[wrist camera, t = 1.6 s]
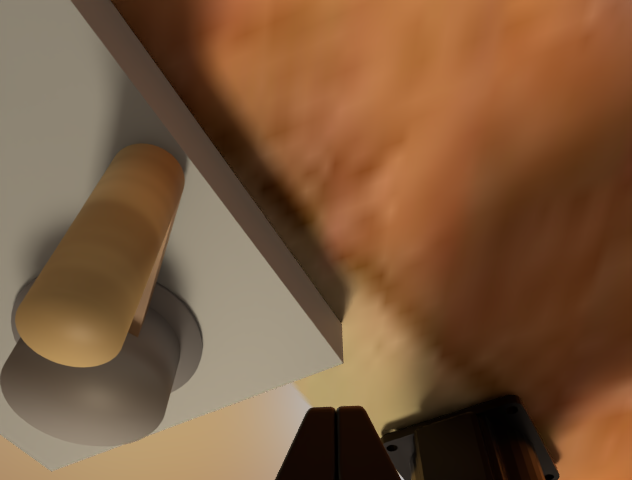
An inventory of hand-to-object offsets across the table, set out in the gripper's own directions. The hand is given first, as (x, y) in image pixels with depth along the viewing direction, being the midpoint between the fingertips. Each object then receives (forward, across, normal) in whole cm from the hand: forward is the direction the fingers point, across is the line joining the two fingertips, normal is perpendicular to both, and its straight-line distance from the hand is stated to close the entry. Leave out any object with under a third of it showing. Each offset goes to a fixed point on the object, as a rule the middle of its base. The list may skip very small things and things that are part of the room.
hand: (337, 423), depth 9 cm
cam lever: (+8, +7, +4) cm, 11 cm away
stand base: (+11, +10, +4) cm, 15 cm away
